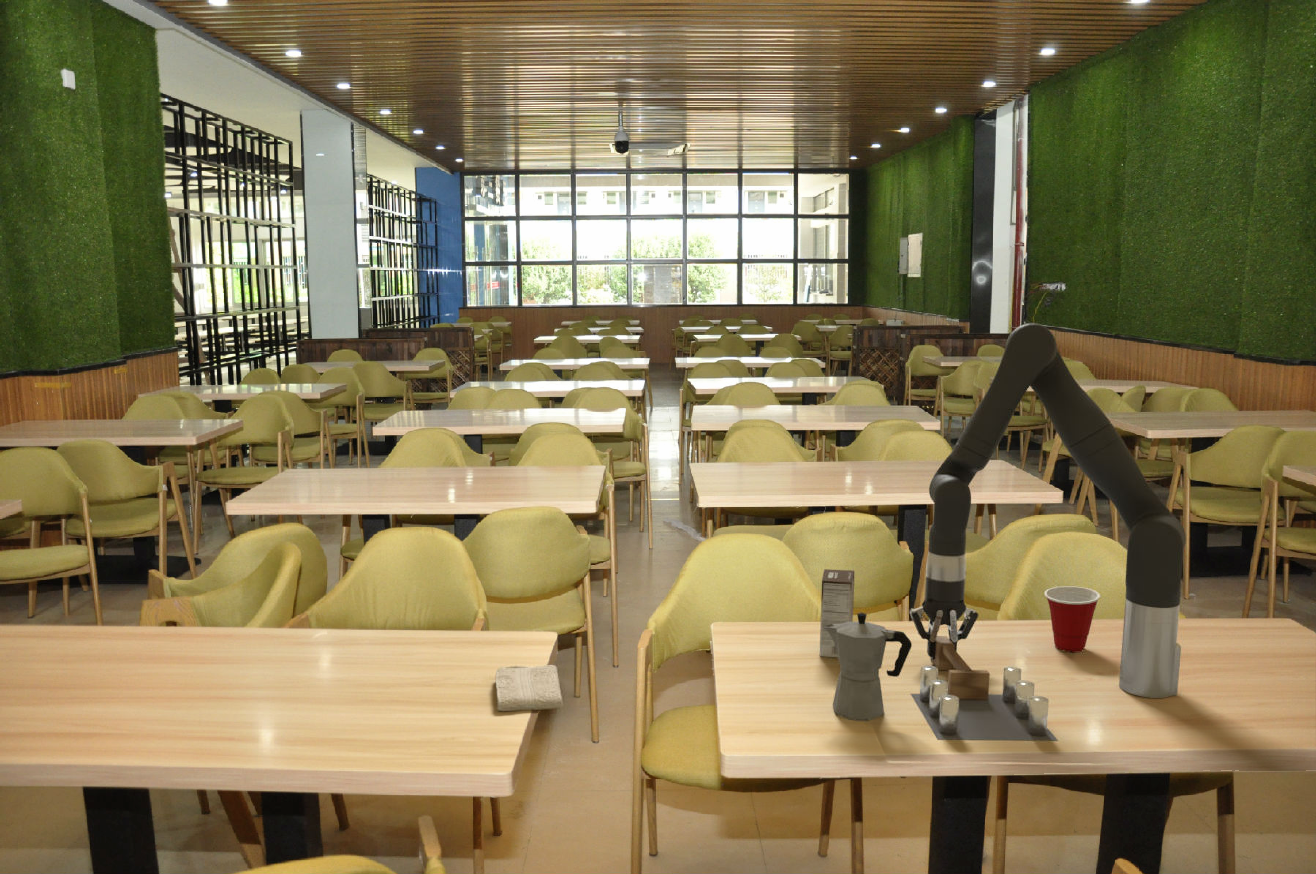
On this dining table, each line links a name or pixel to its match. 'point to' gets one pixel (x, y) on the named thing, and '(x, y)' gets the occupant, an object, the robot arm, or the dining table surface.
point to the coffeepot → (863, 666)
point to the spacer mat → (984, 721)
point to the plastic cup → (1071, 615)
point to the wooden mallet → (960, 672)
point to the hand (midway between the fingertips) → (941, 658)
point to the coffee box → (835, 605)
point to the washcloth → (528, 688)
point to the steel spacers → (1013, 693)
